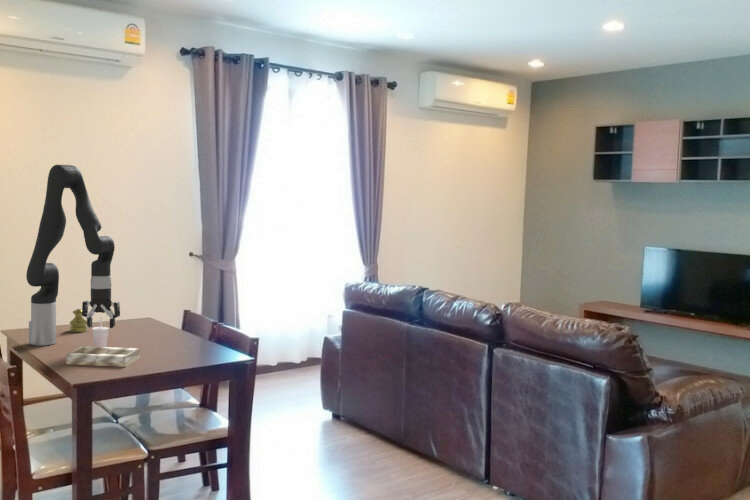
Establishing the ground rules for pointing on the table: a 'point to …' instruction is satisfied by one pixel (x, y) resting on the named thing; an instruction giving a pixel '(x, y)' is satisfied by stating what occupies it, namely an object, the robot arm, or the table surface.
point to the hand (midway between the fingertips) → (101, 327)
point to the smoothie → (100, 335)
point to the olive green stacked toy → (78, 322)
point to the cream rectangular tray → (103, 356)
